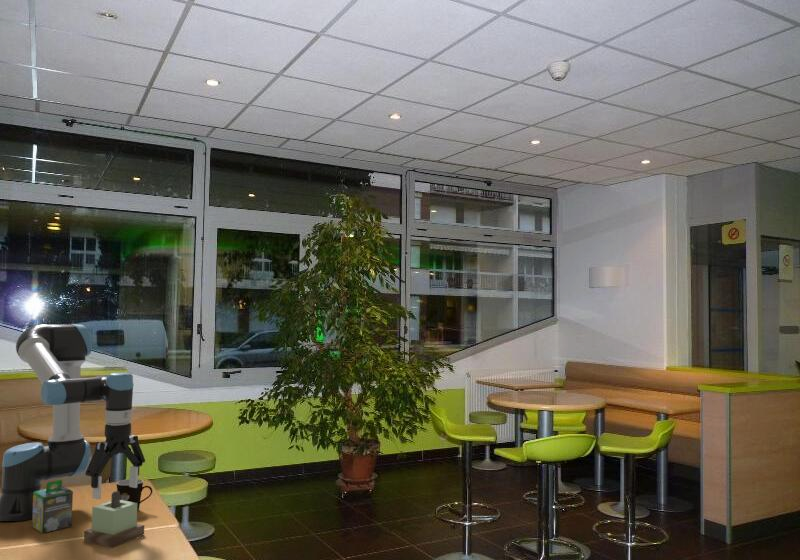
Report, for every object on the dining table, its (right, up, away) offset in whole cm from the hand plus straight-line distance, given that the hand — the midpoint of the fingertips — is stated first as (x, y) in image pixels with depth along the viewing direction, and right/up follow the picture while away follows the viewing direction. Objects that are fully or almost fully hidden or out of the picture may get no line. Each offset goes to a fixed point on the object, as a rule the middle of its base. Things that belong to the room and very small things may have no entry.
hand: (115, 492), depth 196 cm
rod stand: (0, -14, -1) cm, 14 cm away
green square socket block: (0, -11, -1) cm, 11 cm away
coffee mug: (-5, -15, +25) cm, 30 cm away
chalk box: (-24, -14, +8) cm, 29 cm away
